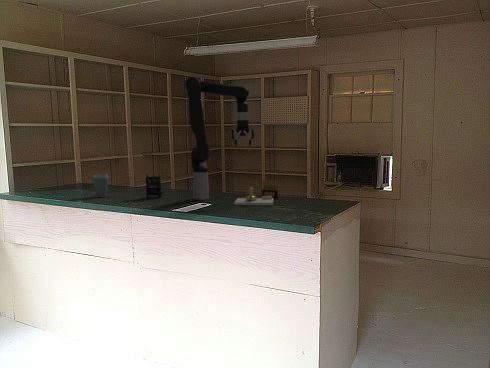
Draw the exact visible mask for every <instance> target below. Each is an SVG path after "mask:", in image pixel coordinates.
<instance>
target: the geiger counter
mask: <svg viewBox="0 0 490 368" xmlns="http://www.w3.org/2000/svg"><path fill="white" fill-rule="evenodd" d="M145 189H146V190H145V191H146V198H147V199H162V194H163V191H162V190H163V188H162V177H161V175H160V174H158V176H149V175H148V174H146V176H145Z"/></svg>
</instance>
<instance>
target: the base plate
mask: <svg viewBox="0 0 490 368" xmlns="http://www.w3.org/2000/svg"><path fill="white" fill-rule="evenodd" d="M274 200H275V198H272V196H262V195H261V197H259V198H258V197H256V200H246V197H244V198H243V197H238V198H236V199H235V201H234V202H233V203H234V206H273V204H274V203H275V202H274Z"/></svg>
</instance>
